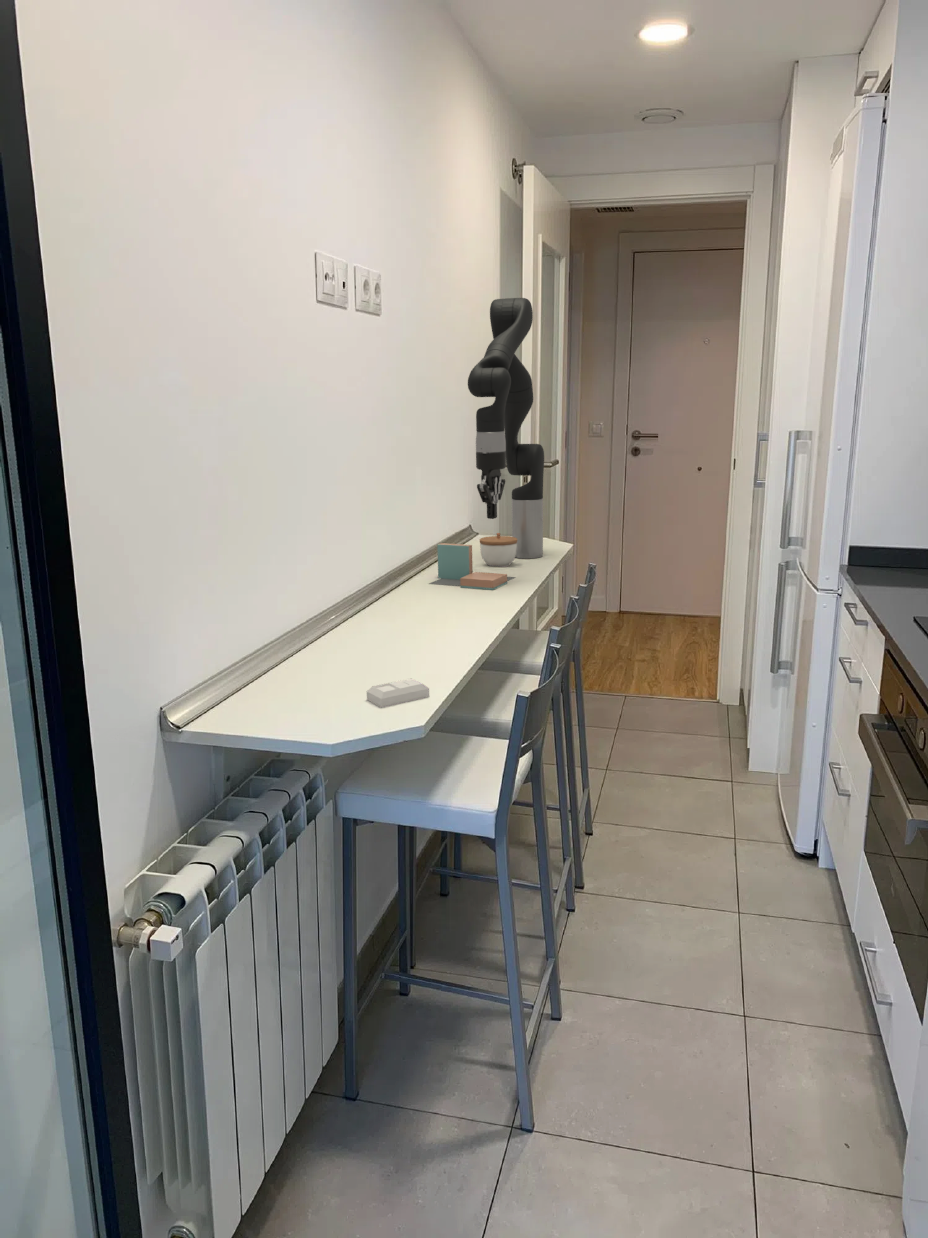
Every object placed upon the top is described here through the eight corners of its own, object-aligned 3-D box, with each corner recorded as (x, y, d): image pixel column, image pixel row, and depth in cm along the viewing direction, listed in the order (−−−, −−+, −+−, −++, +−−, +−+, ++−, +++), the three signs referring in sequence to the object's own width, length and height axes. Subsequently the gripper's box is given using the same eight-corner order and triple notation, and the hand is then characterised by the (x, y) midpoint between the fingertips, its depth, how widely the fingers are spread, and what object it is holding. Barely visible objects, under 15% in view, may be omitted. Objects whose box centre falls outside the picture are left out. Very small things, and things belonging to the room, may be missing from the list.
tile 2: (475, 571, 246) (460, 578, 238) (507, 574, 242) (492, 580, 234) (475, 580, 246) (460, 587, 239) (507, 583, 243) (493, 590, 235)
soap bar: (429, 698, 155) (429, 683, 155) (381, 709, 151) (380, 693, 150) (414, 691, 159) (413, 676, 159) (366, 701, 155) (366, 686, 154)
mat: (455, 574, 258) (455, 572, 258) (516, 578, 250) (516, 577, 250) (427, 585, 244) (427, 583, 244) (491, 590, 236) (491, 588, 236)
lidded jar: (518, 568, 264) (518, 535, 262) (479, 569, 264) (479, 536, 262) (516, 562, 275) (516, 530, 272) (480, 562, 275) (479, 530, 273)
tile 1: (442, 576, 253) (441, 543, 251) (472, 578, 249) (472, 544, 247) (438, 578, 251) (437, 544, 249) (468, 580, 247) (468, 546, 245)
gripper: (488, 447, 245) (489, 514, 249) (466, 451, 233) (467, 521, 237) (514, 447, 241) (515, 515, 246) (493, 452, 230) (495, 522, 234)
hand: (492, 518), depth 242 cm, fingers closed
